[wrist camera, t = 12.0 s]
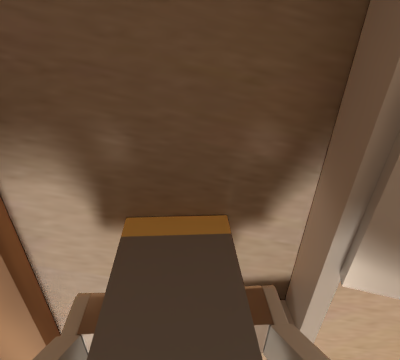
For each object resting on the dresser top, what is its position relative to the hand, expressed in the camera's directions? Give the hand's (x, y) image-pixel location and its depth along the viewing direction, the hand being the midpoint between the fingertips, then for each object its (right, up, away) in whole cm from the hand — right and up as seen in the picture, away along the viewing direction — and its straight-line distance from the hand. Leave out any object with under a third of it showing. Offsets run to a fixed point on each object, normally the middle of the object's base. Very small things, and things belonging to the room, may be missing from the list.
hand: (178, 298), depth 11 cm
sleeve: (0, +1, +2) cm, 2 cm away
